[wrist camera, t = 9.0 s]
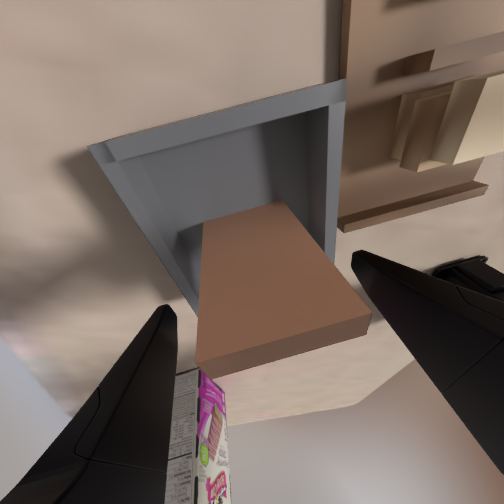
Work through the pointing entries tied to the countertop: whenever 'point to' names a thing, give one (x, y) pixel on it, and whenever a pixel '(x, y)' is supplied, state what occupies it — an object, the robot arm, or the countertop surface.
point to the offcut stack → (450, 122)
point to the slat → (269, 292)
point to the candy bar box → (198, 443)
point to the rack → (390, 94)
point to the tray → (231, 172)
